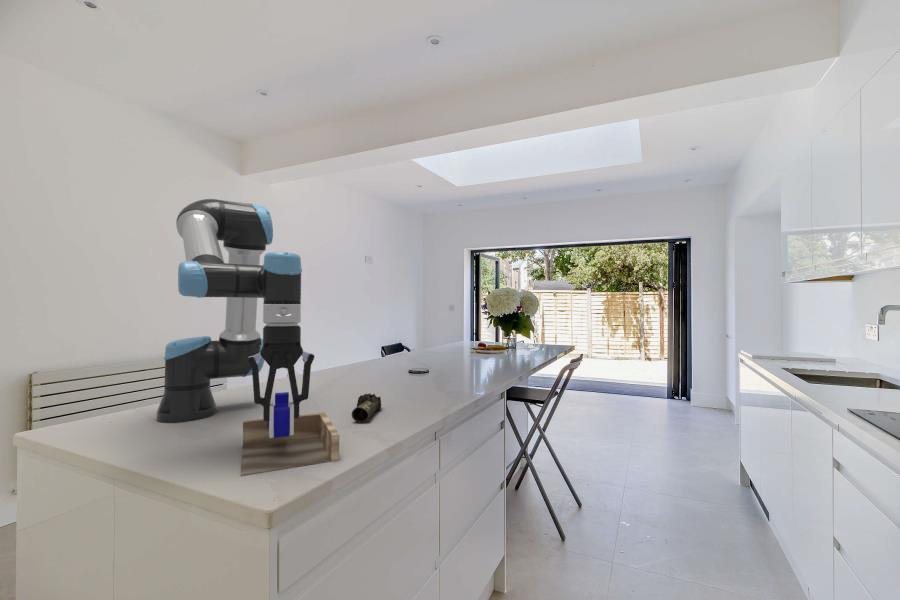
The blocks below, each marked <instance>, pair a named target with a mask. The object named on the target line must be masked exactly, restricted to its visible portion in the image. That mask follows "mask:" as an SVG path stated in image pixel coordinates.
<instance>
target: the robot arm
mask: <svg viewBox="0 0 900 600" xmlns="http://www.w3.org/2000/svg"><path fill="white" fill-rule="evenodd" d="M176 230H177V233H178V235H179V237H181V238H182V241H183V248H184V254H185V261H181V262H179V264H178V268H177V269H178V270H177V271H178V272H177V288H178V289H177V290H178V293H179V295H181V296H183V297H192V298H193V297H194V298H200V299H201V298H226V305H225V309H226V310H225V324H224V325H225V327H224V328H225V329H224V330H223V331H221V332H220V333H219V338H218V340H212V338H211V336H208V335H207V336H194V337H193V336H192V337H187V338H181V339H176V340H172V341H170V342H168V343H167V344H166V345H165V348H164V349H165V350H164V358H163V360H164V382H163V383H164V392H163V395H162V398H161V400H160V403H159V406H158V408H157V410H156V421H157V422H160V423H164V422H165V423H168V424H176V423H187V422H189V421H190V422H195V420H196V421H201V420H204V418H205V419H208V418H210V417H213V416H215V415H216V414H217V404H216V401H215V398H214V396H213V392H212V390H211V380H214V379H226V378H227V379H229V378H237V377H238V378H239V377H243V378H245V377H247V376H252V386H253V387H252V388H253V389H252V390H253V402H254V404H255V405H260V406H262V408H263V410H262V411H263V413H262V415H263V416H262V419H264V421H269V438H273V424H274V405H275V404H274V403H271V400H272V395H273V394H272V393H273V389H274V383H275V378H276V373H277V370H280V369H287V374H288V379H289V381H288V382H289V386H290V390H291V397H292V401H289V434H290V435H294V418H298V417H299V415H300V403H301V402H303V401H305V400H308V399H309V394H310V392H309V391H310V381H311V369H312V365H313V362H314V359H315V354H313V353H310V352H306V351H304V349H303V347H302V344H301V342H302V340H301V339H302V337H301V332H302V331H301V329H302V328H301V326H300V325H299V324H300V323H301V322H302V321H301V319H302V318H301V317H302V316H301V314H302V313H301V311H302V309H301V308H302V306H301V305H302V303H301V301H302V273H303V268H302V261H301V260H302V259H301V256H300V255H299V254H297V253H294V252H286V251H270V252H267V253H265V252H266V250H267V246H269V245H271V244H272V243H273V238H274V228H273V220H272V216H271V213H270V211H269V209H268V208H267V207H266V206H264V205H263V206H262V205H260V204H253V203H245V202H237V201H232V200H230V201H229V200H221V199H215V198H206V199H200V200H196V201H194V202H191V203H189V204H187V205H186V206H185V207H183V208H182V209H181V210H180V212H178V215H177V218H176ZM219 241H221V242H223V244H222V245H223V248H224V249H225V250H226V252H228V262H225V259H224V256H223V253H222V249H221V246H220V243H219ZM263 253H265V254H264V257H263V263H262V264H261V265H260V259H261V255H262V254H263ZM258 299H263V302H262V303H263V305H262V308H263V310H262V313H263V314H262V315H263V316H262V319H263V320H262V321H263V324H265V325H264V327H263V328H262V338H261V334H260V333H259V331H257V330H256V329H257V328H256V327H257V310H258ZM301 358H302V359H301ZM299 359H301V360H302V362H303V368H302V369H303V370H302V371H303V372H302V373H303V374H302V385H301V393H300V394H299V389H298V383H297V377H296V371H295V365H296V363H297V362H298V360H299ZM265 362H266V364H267V365H268V366H269V369H268V375H267V381H266V386H265V392H264V397H262V396H261V388H260V387H261V386H260V374H259V373H260V372H261V371H262V369H263V367H264V364H265ZM200 419H201V420H200ZM165 423H164V424H165Z"/></svg>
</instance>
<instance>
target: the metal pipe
mask: <svg viewBox="0 0 900 600" xmlns="http://www.w3.org/2000/svg"><path fill="white" fill-rule="evenodd" d="M380 409H382V399H381V396H376V394H375V393H373V394H371V392H370V393H364V394H361V395H360V396H358V399H357V403H356V407H354V408H353V410H352V411H351V418H352V419H353V420H354V421H355V422H356V423H360V424H364V423H366V422H367V421H368V420H369V418H371V416H372V415H373V414H374V413H375V412H380Z"/></svg>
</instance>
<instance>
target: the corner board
mask: <svg viewBox="0 0 900 600" xmlns="http://www.w3.org/2000/svg"><path fill="white" fill-rule="evenodd" d="M336 461H337V462H338V461H340V433H339V431H338V430H337V429H336V427H335V426H334V424H333V423H332V421H331V420H330V419H329V416H328V415H327V414H326V412H318V413H309V414H299V417H298V418H294V435H290V434H289V436H287V437H278V438H274V427H273V438H269V428H267V421H264V419H263V418H260V419H258V418H257V419H256V418H255V419H248V420H242V452H241V465H240V466H241V468H240V477H245V476H250V475H252V476H253V475H259V474H264V473H270V472H275V471H277V472H278V471H281V470H283V471H284V470H288V469H289V470H290V469H294V468H295V469H296V468H299V467H307V466H314V465H320V464H326V463H333V462H336Z"/></svg>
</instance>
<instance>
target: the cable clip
mask: <svg viewBox="0 0 900 600" xmlns="http://www.w3.org/2000/svg"><path fill="white" fill-rule="evenodd" d="M289 395H290V393H289V392H286V391H285V392H275V393H274V404H273V405H274V424H273V427H274V438H278V437H287V436H289V402H290V401H289V400H290V399H289ZM267 428H269V421H267Z"/></svg>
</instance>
